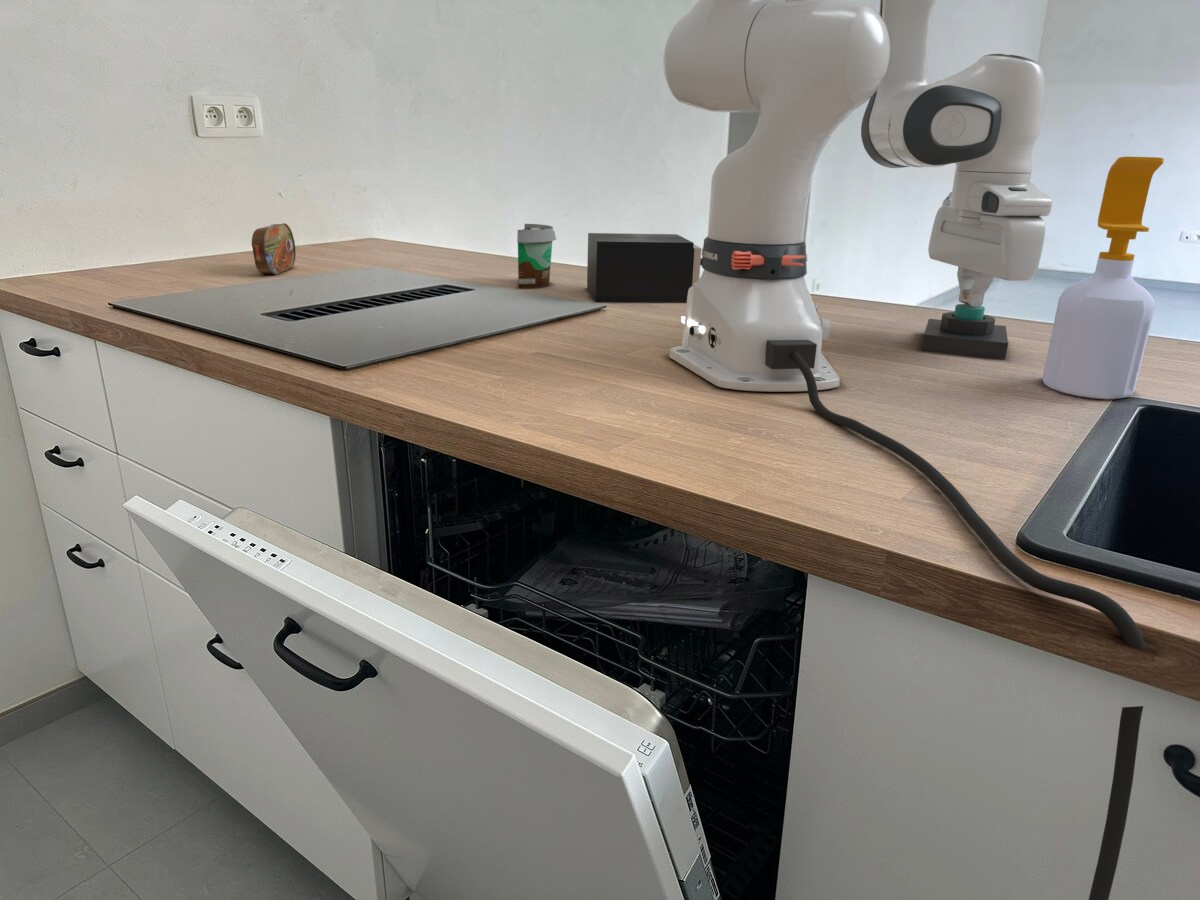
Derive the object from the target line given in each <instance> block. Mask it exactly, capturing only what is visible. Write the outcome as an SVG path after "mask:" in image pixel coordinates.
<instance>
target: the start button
mask: <svg viewBox="0 0 1200 900" xmlns="http://www.w3.org/2000/svg"><path fill="white" fill-rule="evenodd" d="M985 310H986V307H985V306H982V305H981V306H975V307H972V306H969V305H967V304H964V303H958V304H955V307H954V311H953V312H954V317H956V318H961V319H969V320H983V316H984V315H985Z"/></svg>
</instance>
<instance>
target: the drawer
mask: <svg viewBox="0 0 1200 900" xmlns="http://www.w3.org/2000/svg"><path fill="white" fill-rule="evenodd" d="M701 266H702V248H701V247H699V246H698V245H697V244H694V246H693V262H692V278H691V287H692V285H693V284H695V283H696V282H697V281H698V280H699V278H700V277H701V276H700V275H701Z"/></svg>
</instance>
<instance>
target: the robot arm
mask: <svg viewBox="0 0 1200 900" xmlns="http://www.w3.org/2000/svg"><path fill="white" fill-rule="evenodd" d="M936 1H937V0H880V2H879V12H878V11H877V9H876V8H875V7H874V6H872V5H870V4H866V3H865V4H864V3H860V2H855V1H849V0H794V1H786V0H698V1H697V2H696V3H695V4H694V6H693V7H692V8H691V10H689V11H688V12H687V13H686V14H685V15H684V16H683V17H682V18H680V20H678V21H677V22H676V23H675V25H674V26H673V28H672V29H671V31H670V33H669V34H668V38H667V40H666V43H665V46H664V51H663V61H662V62H663V74H664V78H665V81H666V84H667V87H668V89H669V90H670V92H671V94H672V96H673V97H674V98H675V99H676V101H678V103H681V104H683V105H686V106H688V107H689V106H690V107H693V108H696V109H699V110H704V111H707V112H708V111H709V112H713V113H759V116H758V120H757V122H756V123H757V124H756V125H755V128H754V131H753V133H752V134H751V136H750V137H749V139H748V141H747V142H746V143H745V144H744V145H743V146H742V147H740V148H738V149H736V150H734V151H732V152H730V153H729V154H727V155H726V156H725V157H724V158H722V159H721V160H720V162H719V163H718V164H717V166H716V167H715V169H714V171H713V173H712V175H711V181H710V182H711V183H710V195H709V210H708V212H709V213H708V227H707V236H706V237H705V238H704V239H703V244H702V245H703V246H702V248H701V258H702V265H701V268H702V269H703V271H702V272H701V274H700V275H701V276H700V277H699V280H698V281H697V282H696V283H695V284H693V285H692V287H690V288H689V290H688V296H687V302H686V305H685V315H684V316H683V315H682V316H681V323H683V332H682V341H681V345H677V346H673V347H670V348H669V353H668V358H670V359H671V360H673V361H675V362H676V363H678V364H680V365H681V366H683V367H685V368H686V369H688V370H690V371H691V372H693V373H694V374H696V375H697V376H699V377H701V378H702V379H704V380H706V381H707V382H709V383H710V384H712V385H714V386H716V387H718V388H722V389H730V390H735V391H748V392H807V394H808V399H809V402H810V404H811V406H812V409H814V410H815V412H816V413H817V414H818V415H819V416H820V417H821V418H823V419H825V420H827V421H829V422H831V423H832V424H836V425H838V426H842V427H845V428H847V429H849V430H852V431H853V432H855V433H857V434H859V435H861V436H862V437H864V438H866V439H868V440H870V441H872V442H874V443H877V444H878V445H880V446H882V447H884V448H886V449H887V450H889V451H890V452H892V453H894V454H896V455H897V456H899V457H900V458H902V459H903V460H904V461H906V462H908V463H909V464H910V465H912V466H913V467H915V468H916V469H917V470H919V472H920V473H921V474H923V475H924V476H925V477H926V478H927V479H928V480H929V481H931V482H932V484H933V485H935V487H936V488H937V489H938V490H940V491H941V493H942V494H943V495H944V496H945V497H946V498H947V500H949V502H950V503H951V504H952V506H953V507H954V508H955V509H956V511H957V512H958V513H959V515H960V516H961V517H962V519H963V521H965V522H966V523H967V525H968V526H969V527H970V528H971V530H972V531H973V532H974V533H975V534H976V535H977V536H978V537H979V539H980V540H981V541H982V542H983V544H984V545H985V546H986V547H987V549H988V550H989V551H990V553H992V555H993V556H994V557H995V558H996V559H997V560H998V561H999V562H1000V563H1001V565H1003V566H1004V567H1005V568H1006V569H1007V570H1008V571H1009V572H1010V573H1012V574H1013V575H1015V576H1016V577H1017V578H1019V579H1020V580H1021V581H1022V582H1024V583H1025V584H1027V585H1029V586H1031V587H1033V588H1034V589H1036V590H1039V591H1041V592H1044V593H1047V594H1050V595H1053V596H1057V597H1060V598H1064V599H1068V600H1072V601H1076V602H1078V603H1081V604H1084V605H1087V606H1089V607H1091V608H1093V609H1094V610H1097V611H1098V612H1100V613H1101V614H1103V615H1104V616H1105V617H1107V618H1108V619H1109V621H1110V622H1111V623H1112V624H1113V625H1114V627H1115V628H1116V629H1117V632H1118V633H1119V635H1120V637H1121V639H1122V641H1123V642H1124V643H1125V644H1127V645H1129V646H1131V648H1135V649H1138V650H1145V649H1146V647H1147V645H1146V643H1145V640H1144V637H1143V634H1142V632H1141V629H1139V627H1138V626H1137V624H1136V622H1135V620H1134V619H1133V618H1132V617H1131V615H1130V614H1129V613H1128V612H1127V610H1126V609H1124V607H1122V606H1121V605H1120V604H1119V603H1118V602H1116V601H1115V600H1114V599H1112V598H1111V597H1109V596H1107V595H1106V594H1104V593H1102V592H1100V591H1097V590H1095V589H1092V588H1089V587H1086V586H1083V585H1079V584H1075V583H1071V582H1067V581H1064V580H1059V579H1057V578H1053V577H1051V576H1047V575H1045V574H1043V573H1040V572H1039V571H1037V570H1036V569H1034V568H1033V567H1031V566H1030V565H1028V564H1027V563H1026V562H1024V561H1023V560H1022V559H1020V558H1019V557H1018V556H1016V554H1015V553H1014V552H1012V551H1011V550H1010V549H1009V548H1008V547H1007V546H1006V545H1005V543H1004V542H1003V541H1002V540H1001V539H1000V538H999V536H998V535H997V534H996V533H995V531H994V530H992V528H991V527H990V526H989V525H988V524H987V523H986V522H985V520H984V519H982V517H981V516H980V515H979V514H978V513H977V512H976V511H975V509H974V508H973V507H972V505H970V503H969V502H968V501H967V499H966V498H965V497H964V495H962V493H961V492H960V491H959V490H958V489H957V487H955V486H954V485H953V484H952V482H951V481H949V480H948V479H947V478H946V477H945V476H944V475H943V474H942V473H941V472H940V471H939V470H938V469H937V468H936V467H934V466H933V465H932V464H931V463H929V462H928V461H927V460H926V459H924V458H923V457H922V456H921V455H919V454H918V453H916V452H915V451H914V450H912V449H910V448H909V447H907V446H906V445H904V444H902V443H901V442H899V441H897V440H896V439H893V438H891V437H889V436H887V435H885V434H884V433H882V432H880V431H877V430H875V429H873V428H871V427H869V426H868V425H865V424H864V423H861V422H860V421H857V420H856V419H853V418H851V417H848V416H844V415H841V414H838V413H835V412H832V411H831V410H830V409H828V408H827V407H826V406H825V405H824V404H823V403H822V401H821V400H820V397H819V392H818V391H823V390H831V389H835V388H838V387H840V384H841V378H840V376H839V375H838V374H837V372H836V371H835V370H834V367H832V365H831V363H830V362H829V361H828V360H827V358H826V357H825V355H824V354H823V352H822V345H823V340H828V339H829V338H830V335H831V329H832V325H831V324H832V323H831V320H830V319H828V318H819V315H818V314H819V303H814V302H813V298H812V295H811V294H810V293H811V292H810V291H809V289H808V286H807V282H806V279H805V276H806V275H807V274H808V270H807V269H808V268H807V266H808V265H807V262H808V254H807V244H806V242H805V241H804V233H805V224H806V217H807V216H806V215H807V209H808V203H809V196H810V191H811V187H812V181H813V176H814V173H815V169H816V168H817V164H818V162H819V160H820V157H821V155H822V153H823V151H824V149H825V147H826V146H827V144H828V142H829V140H830V139H831V138H832V135H833V134H834V133H835V132H836V130H837V129H838V128H839V126H841V124H842V123H843V122H844V121H846V119H847V118H848V117H849V116H850V115H851V114H853V113H854V112H855V111H856V110H858V109H859V108H860V107H861V106H863V105H864V104H865V103H867V102H868V103H867V105H866V107H865V111H864V113H863V116H862V120H861V126H860V136H861V137H860V138H861V141H862V146H863V148H864V150H865V152H866V153H867V155H868V156H869V158H870V159H872V161H874V162H875V163H877V164H878V165H880V166H882V167H884V168H888V169H901V168H909V167H912V168H939V167H944V166H945V167H946V166H948V165H952V164H955V170H954V177H953V183H952V188H951V189H952V190H951V191H950V192H949V193H948V195H947V196H946V197H945V198H944V199H943V201H942V204H941V206H940V207H939V208H938V209H937V211H936V214H935V217H934V220H933V224H932V228H931V233H930V236H929V241H928V248H927V251H928V256H929V259H931V260H933V261H937V262H941V263H944V264H947V265H951V266H954V267H957V273H956V276H957V282H958V286H959V295H958V302H959V303H960V304H967V305H969V306H972V307H975V306H982V305H983V303H984V299H985V293H987V291H988V289H989V288H990V286H991V285H992V284H993V282H994V278H996V279H1000V280H1004V281H1008V282H1009V281H1011V282H1022V281H1023V282H1026V281H1030V280H1032V278H1033V277H1034V276H1035V274H1036V273H1037V272H1038V269H1039V266H1040V262H1041V257H1042V253H1043V249H1044V242H1045V236H1046V223H1045V221H1044V218H1042V217H1048V216H1049V215H1050V213H1051V210H1052V206H1053V200H1052V198H1051V197H1050V196H1049V195H1047V194H1046V193H1045V192H1043V191H1042V190H1041V189H1039V188H1038V187H1037V186H1036V185H1035V184H1034V183H1032V182H1031V179H1032V172H1033V165H1032V153H1033V148H1034V146H1035V144H1036V142H1037V140H1038V137H1039V135H1040V130H1041V124H1042V118H1043V110H1044V103H1045V94H1046V93H1045V89H1046V79H1045V73H1044V69H1043V67H1042V65H1040V64H1039V63H1038V62H1036V60H1033V59H1031V58H1028V57H1026V56H1021V55H1015V54H1005V53H990V54H985V55H983V56H981V57H980V58H979V59H978V60H977V61H976V62H974V63H973V64H971V65H970V66H968V67H966V68H965V69H962V70H961V71H959V72H957V73H954V74H952V75H949V76H948V77H945V78H943V79H940V80H937V81H934V82H932V83H928V78H927V75H928V74H927V71H928V62H929V61H928V60H929V51H930V39H931V28H932V27H931V26H932V18H933V17H932V16H933V11H934V8H935V5H936V3H937V2H936ZM1121 708H1122V709H1121V713H1120V717H1119V718H1120V719H1119V726H1118V734H1117V744H1116V751H1115V760H1114V768H1113V776H1112V782H1111V787H1110V795H1109V800H1108V807H1107V812H1106V819H1105V824H1104V829H1103V833H1102V839H1101V843H1100V849H1099V854H1098V858H1097V863H1096V867H1095V871H1094V875H1093V879H1092V885H1091V888H1090V892H1089V895H1088V896H1089V897H1088V900H1109V899H1110V895H1111V892H1112V888H1113V887H1112V886H1113V883H1114V879H1115V875H1116V871H1117V867H1118V862H1119V859H1120V858H1119V857H1120V852H1121V848H1122V844H1123V838H1124V833H1125V830H1126V824H1127V819H1128V811H1129V807H1130V801H1131V794H1132V788H1133V783H1134V775H1135V767H1136V760H1137V759H1136V758H1137V750H1138V744H1139V743H1138V742H1139V734H1140V727H1141V720H1142V715H1143V710H1144V705H1137V706H1124V707H1123V706H1122V707H1121Z"/></svg>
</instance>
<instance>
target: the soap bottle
mask: <svg viewBox="0 0 1200 900" xmlns="http://www.w3.org/2000/svg"><path fill="white" fill-rule="evenodd" d="M1164 162H1165V160H1164V158H1163V157H1160V156H1159V157H1155V156H1152V157H1151V156H1121V157H1117V159H1116V160H1115V161H1114V162H1113V164H1112V165H1111V166H1110V168H1109V169H1108V173H1107V176H1106V179H1105V185H1104V190H1103V195H1102V199H1101V203H1100V208H1099V213H1098V216H1097V217H1098V218H1097V227H1098V228H1100V229H1102V230H1106V236H1105V238H1107V239H1110V244H1109V248H1108V251H1100V252H1099V255H1098V257H1097V262H1096V266H1095V270H1094V272H1093V273H1092V274H1091V275H1089V276H1087V277H1085V278H1083V279H1081V280H1079V281H1076V282H1074V283H1073V284H1071V285H1069V286H1068V287H1066V288H1065V289H1064V290H1063V291H1062V292H1061V295H1060V296H1059V297H1058V301H1057V306H1056V311H1055V316H1054V321H1053V324H1052V330H1051V335H1050V340H1049V344H1048V349H1047V353H1046V358H1045V359H1046V360H1045V364H1044V367H1043V373H1042V382H1043V384H1044V386H1046V387H1048V388H1050V389H1051V390H1053V391H1057V392H1060V393H1062V394H1065V395H1070V396H1075V397H1078V398H1079V397H1080V398H1086V399H1092V400H1094V399H1095V400H1119V399H1120V400H1121V399H1126V398H1129V397H1131V396H1132V395H1133V394H1134V393H1135V391H1136V387H1137V383H1138V379H1139V375H1140V371H1141V366H1142V362H1143V359H1144V354H1145V351H1146V348H1147V347H1146V346H1147V342H1148V338H1149V334H1150V330H1151V327H1152V322H1153V319H1154V314H1155V311H1156V310H1155V309H1156V304H1155V299H1154V297H1153V296H1152V294H1151V293H1150V292H1149V291H1148V290H1147V289H1146V288H1145V287H1144V286H1143V285H1141V284H1139V283H1138V282H1137V281H1136V280H1135V279H1134V278H1133V277H1132V270H1133V267H1134V263H1135V256H1136V255H1135V254H1133V253H1129V252H1127V251H1128V248H1129V243H1130V240H1132V241H1133V240H1136V239H1137V234H1138V233H1139V232H1140V233H1148V232H1149V231H1150V227H1148V226H1145V225H1143V216H1144V211H1145V207H1146V203H1147V199H1148V195H1149V190H1150V186H1151V182H1152V179H1153V177H1154V174H1155V173H1156V171H1157V170H1158V169H1160V167H1161V166H1162V165H1163V164H1164Z"/></svg>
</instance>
